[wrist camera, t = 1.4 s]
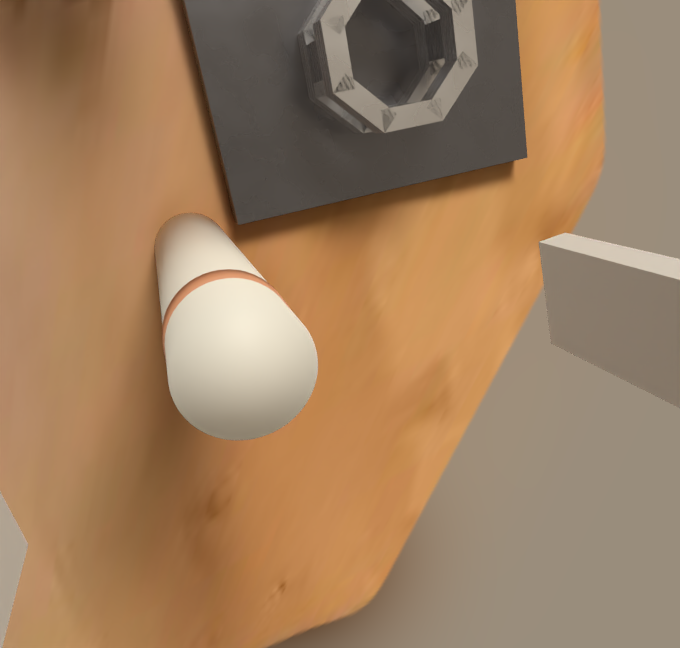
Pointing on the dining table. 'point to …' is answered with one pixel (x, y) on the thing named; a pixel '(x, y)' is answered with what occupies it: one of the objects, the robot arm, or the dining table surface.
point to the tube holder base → (354, 95)
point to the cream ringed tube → (228, 335)
